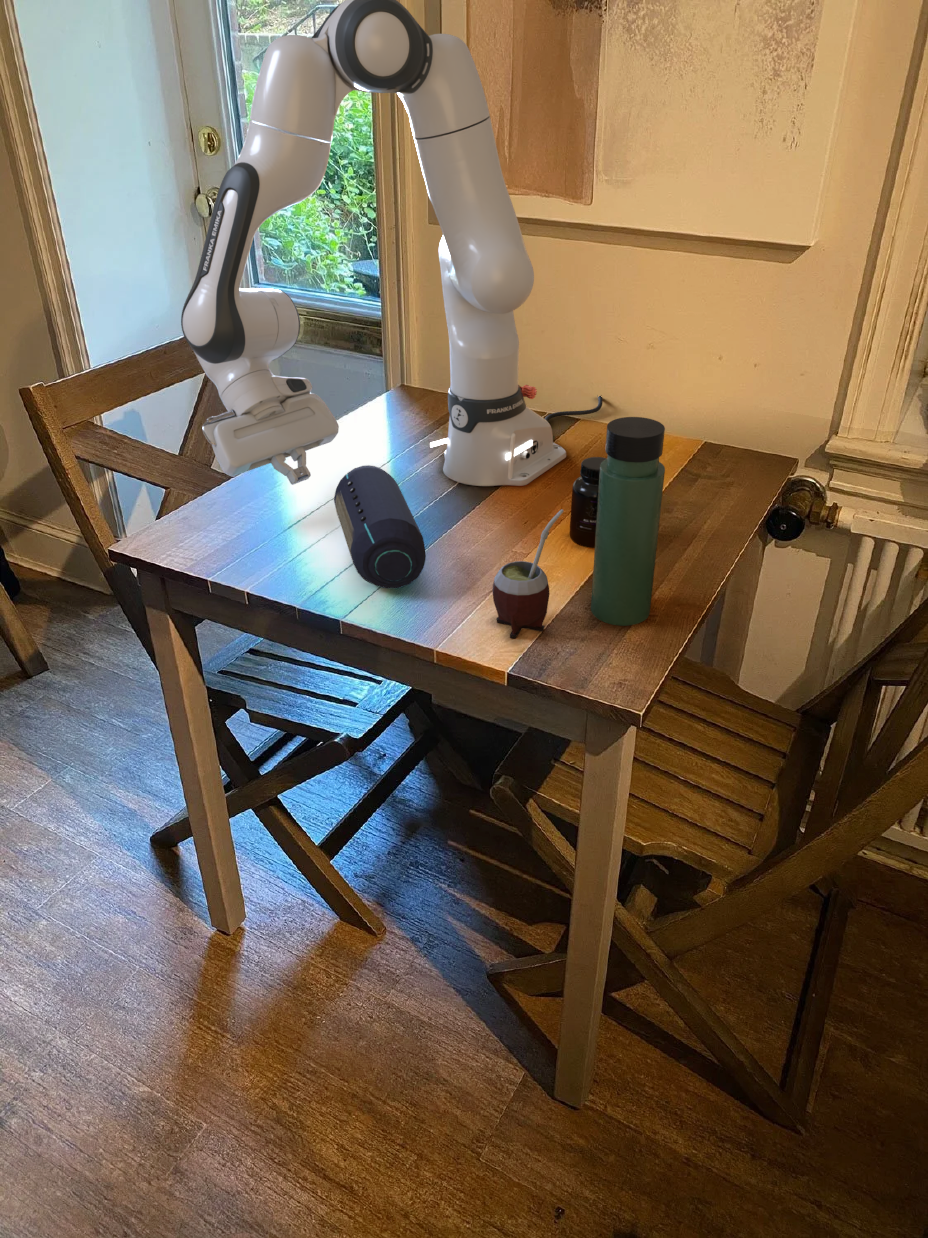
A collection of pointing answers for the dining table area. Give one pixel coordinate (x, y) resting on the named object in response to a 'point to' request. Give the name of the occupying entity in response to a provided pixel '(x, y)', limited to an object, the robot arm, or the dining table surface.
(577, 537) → the supplement bottle
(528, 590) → the mate gourd
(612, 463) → the thermos
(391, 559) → the portable speaker
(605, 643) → the dining table surface
